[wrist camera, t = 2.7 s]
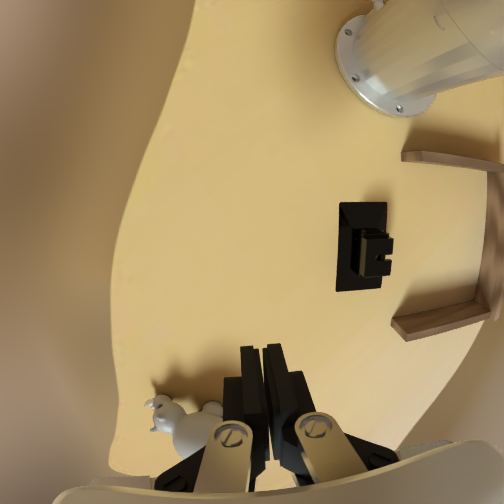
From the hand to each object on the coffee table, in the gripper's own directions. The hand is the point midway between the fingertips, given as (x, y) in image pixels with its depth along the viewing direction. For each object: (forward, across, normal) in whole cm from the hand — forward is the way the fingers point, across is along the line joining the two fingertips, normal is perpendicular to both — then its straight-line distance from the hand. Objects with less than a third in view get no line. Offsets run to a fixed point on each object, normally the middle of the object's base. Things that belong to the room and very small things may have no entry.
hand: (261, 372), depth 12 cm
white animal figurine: (+18, +8, +19) cm, 28 cm away
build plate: (+18, -12, 0) cm, 22 cm away
